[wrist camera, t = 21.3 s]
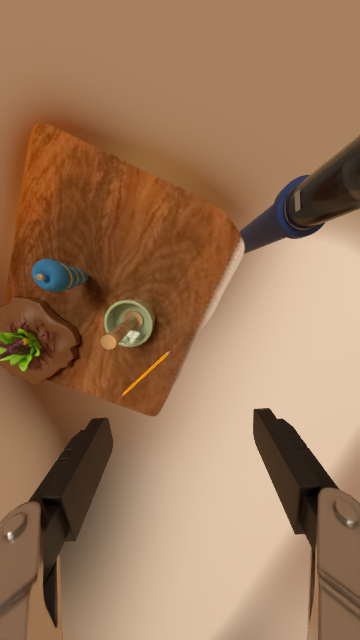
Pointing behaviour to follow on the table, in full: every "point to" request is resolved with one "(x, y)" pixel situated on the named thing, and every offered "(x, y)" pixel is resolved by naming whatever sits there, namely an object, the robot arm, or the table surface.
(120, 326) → the stick
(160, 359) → the pencil
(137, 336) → the bowl
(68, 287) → the ornament
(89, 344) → the table surface
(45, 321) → the plant
